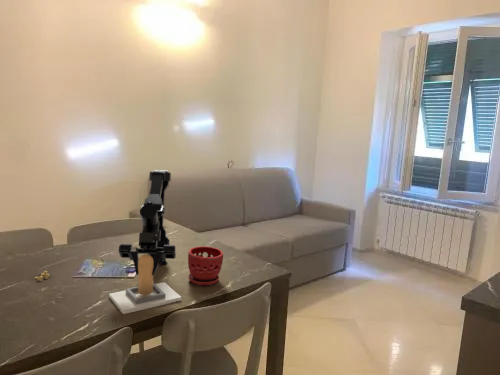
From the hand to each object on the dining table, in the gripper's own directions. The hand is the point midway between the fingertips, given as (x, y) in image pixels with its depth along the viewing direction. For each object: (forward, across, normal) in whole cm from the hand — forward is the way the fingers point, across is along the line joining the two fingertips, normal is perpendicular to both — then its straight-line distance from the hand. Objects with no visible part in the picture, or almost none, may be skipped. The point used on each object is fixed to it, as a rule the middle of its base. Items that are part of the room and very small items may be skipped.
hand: (145, 274), depth 136 cm
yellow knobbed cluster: (-6, -39, +20) cm, 44 cm away
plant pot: (-5, +20, +19) cm, 28 cm away
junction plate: (+6, 0, +7) cm, 9 cm away
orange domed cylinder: (+4, 0, +6) cm, 7 cm away
